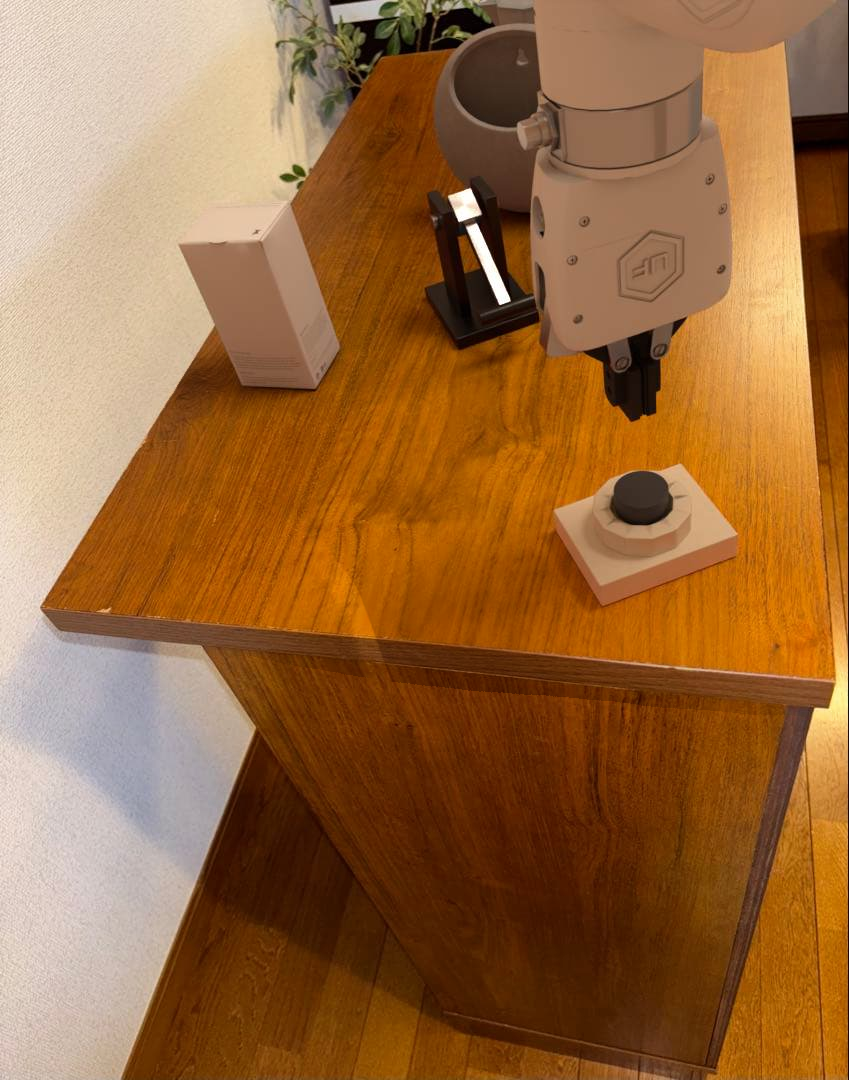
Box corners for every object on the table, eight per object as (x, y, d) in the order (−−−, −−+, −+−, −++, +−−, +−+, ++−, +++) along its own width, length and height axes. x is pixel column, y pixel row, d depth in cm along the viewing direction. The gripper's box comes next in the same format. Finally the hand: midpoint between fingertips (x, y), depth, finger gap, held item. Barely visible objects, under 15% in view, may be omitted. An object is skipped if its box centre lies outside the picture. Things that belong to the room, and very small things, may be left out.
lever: (535, 313, 85) (538, 300, 82) (481, 332, 84) (482, 319, 82) (484, 198, 88) (485, 182, 85) (432, 216, 87) (432, 200, 85)
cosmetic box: (342, 350, 93) (296, 197, 82) (315, 394, 89) (262, 240, 78) (265, 346, 96) (210, 198, 85) (235, 389, 92) (174, 240, 81)
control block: (680, 484, 72) (680, 444, 70) (737, 556, 67) (739, 515, 64) (555, 530, 72) (550, 491, 69) (602, 607, 66) (598, 568, 63)
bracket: (540, 321, 90) (525, 202, 81) (458, 350, 89) (435, 233, 81) (501, 271, 97) (484, 157, 88) (426, 297, 96) (401, 185, 88)
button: (653, 482, 68) (653, 463, 67) (678, 514, 66) (678, 496, 64) (606, 499, 68) (604, 481, 67) (629, 533, 65) (627, 515, 64)
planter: (441, 229, 105) (405, 47, 91) (460, 195, 109) (428, 17, 96) (614, 228, 98) (603, 32, 85) (627, 192, 103) (618, 0, 89)
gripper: (506, 193, 44) (544, 483, 57) (805, 93, 46) (775, 400, 59) (453, 132, 50) (499, 411, 63) (723, 44, 51) (712, 335, 64)
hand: (633, 405), depth 61 cm, fingers closed
